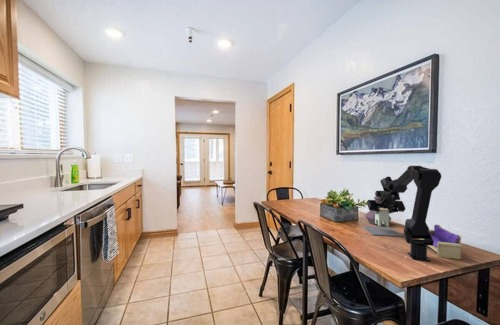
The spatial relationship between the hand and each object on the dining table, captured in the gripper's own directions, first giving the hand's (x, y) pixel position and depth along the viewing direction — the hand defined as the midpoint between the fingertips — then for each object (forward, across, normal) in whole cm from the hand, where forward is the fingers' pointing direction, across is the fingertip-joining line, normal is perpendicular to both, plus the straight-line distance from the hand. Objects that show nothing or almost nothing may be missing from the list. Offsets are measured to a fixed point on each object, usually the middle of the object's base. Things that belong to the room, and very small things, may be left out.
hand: (380, 213), depth 133 cm
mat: (+6, 0, +8) cm, 11 cm away
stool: (+4, 0, +6) cm, 7 cm away
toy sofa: (-10, -14, +26) cm, 32 cm away
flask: (+20, -5, -5) cm, 21 cm away
